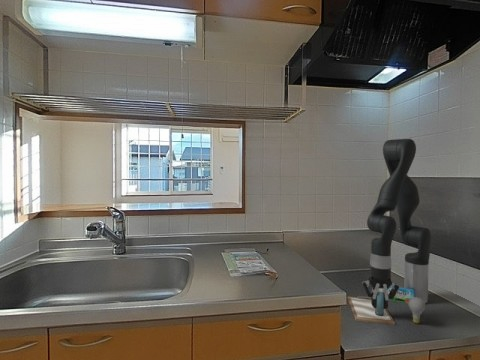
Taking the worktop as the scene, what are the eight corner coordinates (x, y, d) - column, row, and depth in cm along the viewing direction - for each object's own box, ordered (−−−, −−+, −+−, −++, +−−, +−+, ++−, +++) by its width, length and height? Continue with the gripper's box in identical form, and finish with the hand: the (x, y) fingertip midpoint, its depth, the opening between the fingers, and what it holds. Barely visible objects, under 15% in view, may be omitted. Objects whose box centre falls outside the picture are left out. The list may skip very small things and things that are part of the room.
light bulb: (404, 320, 112) (405, 295, 111) (414, 318, 114) (415, 293, 113) (417, 328, 107) (418, 301, 106) (428, 325, 108) (428, 299, 108)
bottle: (377, 311, 117) (377, 284, 117) (385, 314, 114) (386, 287, 114) (372, 313, 115) (373, 286, 115) (381, 317, 112) (381, 289, 112)
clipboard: (347, 298, 131) (347, 294, 131) (380, 301, 128) (380, 298, 128) (355, 320, 112) (355, 316, 112) (395, 325, 109) (395, 320, 109)
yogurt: (383, 298, 131) (383, 285, 131) (383, 297, 132) (383, 284, 132) (413, 305, 125) (414, 291, 125) (413, 303, 127) (414, 289, 126)
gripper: (363, 266, 112) (362, 310, 112) (403, 269, 109) (401, 314, 109) (359, 260, 119) (358, 301, 120) (396, 263, 116) (395, 305, 117)
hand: (379, 307), depth 115 cm, fingers closed on bottle, 3 cm apart
